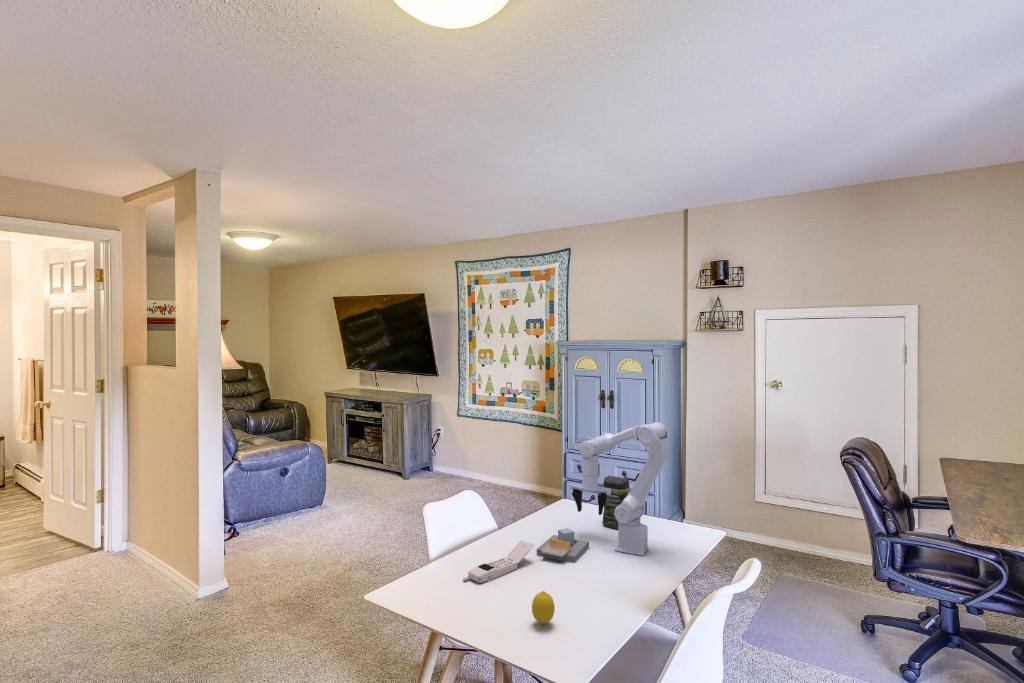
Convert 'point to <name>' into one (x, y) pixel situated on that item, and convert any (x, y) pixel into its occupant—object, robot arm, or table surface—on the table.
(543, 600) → the lemon
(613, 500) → the coffee jar
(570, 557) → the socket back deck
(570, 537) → the plug
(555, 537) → the socket far rim
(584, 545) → the socket near rim
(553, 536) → the socket front rim
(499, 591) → the table surface
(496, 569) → the mobile phone
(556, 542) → the panel
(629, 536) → the robot arm
